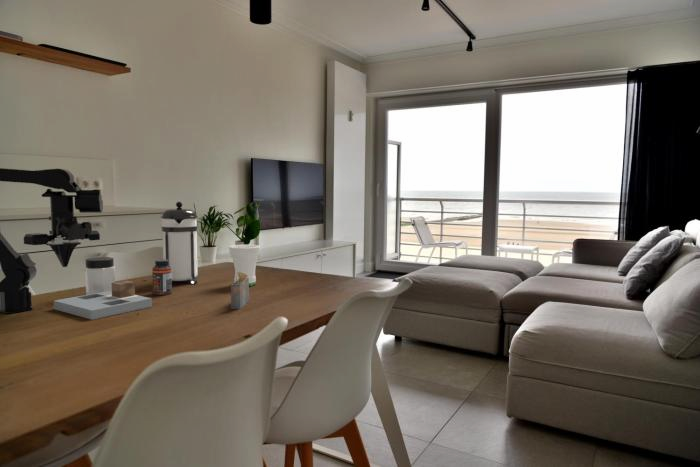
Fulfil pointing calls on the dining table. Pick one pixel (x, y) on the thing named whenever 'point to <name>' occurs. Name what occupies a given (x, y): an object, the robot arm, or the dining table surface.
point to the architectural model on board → (240, 291)
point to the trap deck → (101, 305)
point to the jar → (99, 274)
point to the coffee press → (180, 242)
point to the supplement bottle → (162, 278)
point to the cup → (245, 260)
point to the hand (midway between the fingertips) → (64, 266)
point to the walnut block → (123, 289)
